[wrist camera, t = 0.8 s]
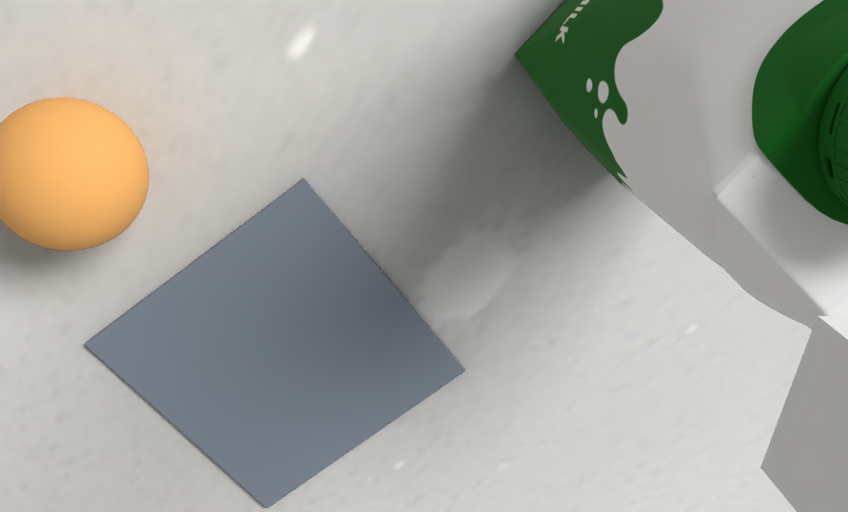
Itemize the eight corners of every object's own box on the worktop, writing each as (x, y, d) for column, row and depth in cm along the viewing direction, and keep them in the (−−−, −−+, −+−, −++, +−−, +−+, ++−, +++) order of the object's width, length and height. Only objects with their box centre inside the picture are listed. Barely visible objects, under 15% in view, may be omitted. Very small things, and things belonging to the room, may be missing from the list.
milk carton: (641, -118, 30) (1154, -166, 12) (773, 44, 34) (1332, 199, 16) (482, 56, 32) (723, 242, 14) (622, 194, 35) (966, 490, 17)
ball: (-20, 142, 31) (-83, 186, 26) (87, 54, 30) (45, 82, 25) (86, 245, 33) (48, 304, 28) (189, 165, 32) (169, 211, 27)
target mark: (85, 342, 34) (84, 344, 34) (303, 178, 33) (303, 179, 33) (267, 505, 39) (266, 508, 39) (464, 368, 38) (465, 371, 38)
